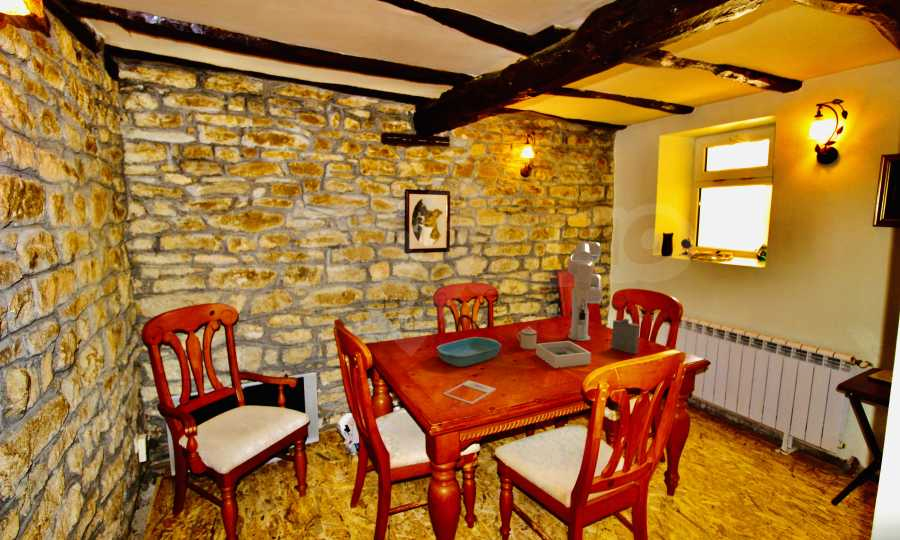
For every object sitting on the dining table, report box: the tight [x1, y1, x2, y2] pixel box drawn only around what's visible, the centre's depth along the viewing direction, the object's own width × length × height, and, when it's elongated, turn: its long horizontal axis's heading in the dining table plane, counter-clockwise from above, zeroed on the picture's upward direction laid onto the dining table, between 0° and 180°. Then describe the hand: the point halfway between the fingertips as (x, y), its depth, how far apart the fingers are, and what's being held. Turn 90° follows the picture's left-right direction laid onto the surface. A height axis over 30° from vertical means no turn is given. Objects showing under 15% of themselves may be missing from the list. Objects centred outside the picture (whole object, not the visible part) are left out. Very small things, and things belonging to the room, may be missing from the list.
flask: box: [611, 318, 640, 355], centre depth 237 cm, size 4×14×18 cm, turn 43°
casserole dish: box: [436, 336, 502, 368], centre depth 226 cm, size 37×22×7 cm, turn 130°
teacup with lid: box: [516, 326, 538, 350], centre depth 244 cm, size 12×9×12 cm
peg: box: [578, 306, 586, 325], centre depth 236 cm, size 4×4×10 cm
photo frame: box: [443, 379, 497, 405], centre depth 185 cm, size 15×1×18 cm
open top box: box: [535, 340, 592, 369], centre depth 225 cm, size 20×20×6 cm
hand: (581, 318), depth 237 cm, fingers closed on peg, 4 cm apart
